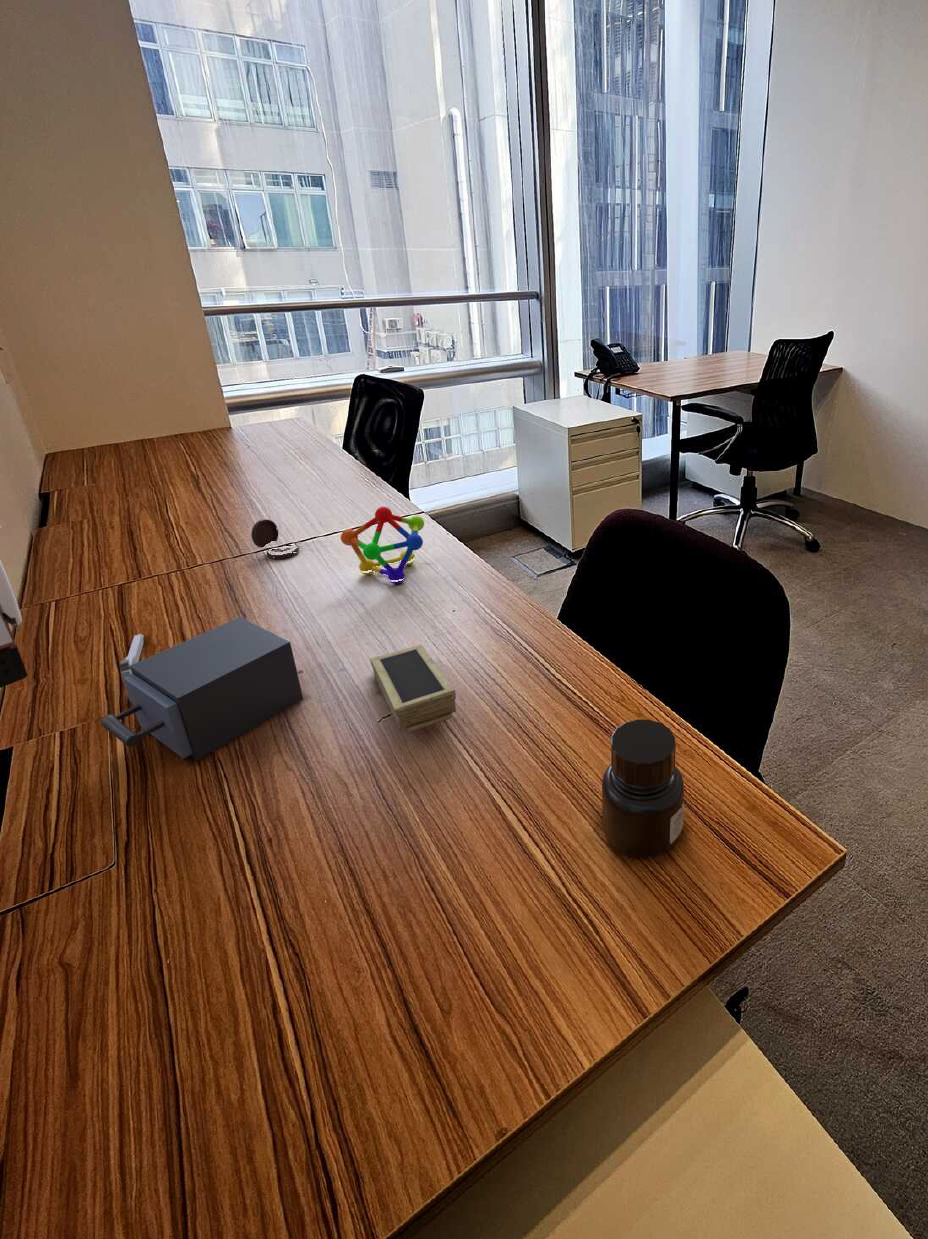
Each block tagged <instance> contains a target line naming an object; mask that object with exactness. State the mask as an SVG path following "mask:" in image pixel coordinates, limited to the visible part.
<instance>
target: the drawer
mask: <svg viewBox="0 0 928 1239" xmlns="http://www.w3.org/2000/svg"><path fill="white" fill-rule="evenodd" d="M123 679H124V682H125V685H126V688H127V690H128V693H129V696H130V699H131V702H132V703H131V702H130V703H131V704H132V707H130V708H127V709H126V710H123V711H121V712H120V713H119V712H118V713H117V714H116V715H113V714H107V715H105V716H102V718H101V720H100V726H101V727H103V728H104V729H105V730H107V732H109V733H110V734H111V735H113V736H114V737H115V738H116V739H117V740H119V741H120V742H121V743H123V744H124V745H125V746H126V747H128V748H135V747H136V746H137V745H138V744H140V742H141V739H143V738H144V737H147V736H149V735H151V736H152V737H154V738H155V739H157V741H159V742H160V743H161V744H163V745H164V746H165V747H167V748H168V749H170V750H171V751H172V752H174V753H175V754H176V755H177V756H179V757H180V758H182V759H186V758H188V757H189V756H191V754H193V752H192V748H191V745H190V742H189V739H188V736H187V733H186V730H185V727H184V724H183V720H182V717H181V714H180V711H179V708H178V705H177V703H176V702H175V701H173V700H172V699H171V698H170V697H169V696H168V695H166V694H165V693H163V692H162V691H160V690H159V689H157V688H156V687H154V686H153V685H152V686H153V687H152V686H151V685H150V684H148V683H147V682H145V681H144V680H142V679H141V678H139V677H138V676H136V675H135V674H131V675H128V676H126V677H124V678H123ZM123 679H122V680H123ZM124 682H123V683H124ZM134 714H135V716H136V719H137V721H138V725H139V727H141V729H143V730H140V731H138V732H137V733H136V732H135V731H134V730H132V729H131V728H130V727H128V726H127V725H126V724H125V723H124V722H122V721H121V720H123V719H125V718H127V717H129V716H131V715H134Z"/></svg>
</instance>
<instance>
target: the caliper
mask: <svg viewBox="0 0 928 1239" xmlns="http://www.w3.org/2000/svg"><path fill="white" fill-rule="evenodd" d="M144 637H145V636H144V635H143V634H142V633H139V634H136V635H134V636H133V638H132V641H131V645H130V648H129V651H128V654H127V656H126V657H125V659H123V660H120V663H118V665H119V668H120V676H121V680H122V682H123V686H124V688H125V692H126V694H127V697H128V700H129V703H130V704H132V702H131V699H130V696H129V693H128V690H127V688H126V685H125V682H124V679H123V678H124V677H126V676H128V675H131V674H132V672H131V669H130V665H133V664H135V663H137V662H139V661H140V658H141V654H142V650H143V647H144V644H145V641H144Z"/></svg>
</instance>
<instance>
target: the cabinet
mask: <svg viewBox="0 0 928 1239" xmlns="http://www.w3.org/2000/svg"><path fill="white" fill-rule="evenodd" d="M296 665H297V664H296V660H295V656H294V653H293V648H292V643H291V641H289V640H288V639H285V638H283V637H282V636H279V635H277V634H276V633H273V632H272V631H270V630H268V629H265V628H263V627H261V626H260V625H257V624H255V623H254V622H251V621H249V620H247V619H245V618H243V617H242V616H239V617H236V618H235V619H231V620H229V621H227V622H226V623H223V624H221V625H218V626H216V627H213V628H212V629H209V630H207V631H205V632H203V633H200V634H198V635H195V636H193V637H191V638H189V639H187V640H184V641H183V642H179V643H178V644H176V645H173V646H171V647H168V648H167V649H164V650H161V651H160V652H157V653H155V654H153V655H150V656H148V657H146V658H143V659H141V660H139V662H137V663H135V664H133V665H130V669H131V672H132V674H135V675H136V676H138V677H139V678H141V679H142V680H144V681H145V682H147V683H148V684H150V685H151V686H152V685H153V686H154V687H156V688H157V689H159V690H160V691H162V692H163V693H165V694H166V695H168V696H169V697H170V698H172V699H173V700H175V701H176V702H177V705H178V708H179V711H180V714H181V717H182V720H183V724H184V727H185V730H186V733H187V736H188V739H189V742H190V745H191V748H192V752H193V754H191V755H190V756H191V757H192V758H194V759H195V760H196V761H199V760H201V759H203V758H204V757H206V756H208V755H210V754H211V753H213V752H215V751H216V750H218V749H220V748H221V747H223V746H225V745H227V744H229V743H230V742H232V741H233V740H235V739H237V738H239V737H241V736H242V735H244V734H245V733H248V732H249V731H251V730H253V729H254V728H256V727H258V726H259V725H261V724H262V723H264V722H266V721H268V720H269V719H271V718H273V717H274V716H276V715H278V714H280V713H282V712H283V711H285V710H286V709H288V708H290V707H291V706H293V705H295V704H297V703H299V702H300V701H302V700H303V699H304V696H303V691H302V687H301V682H300V678H299V675H298V670H297V666H296ZM153 686H152V687H153Z"/></svg>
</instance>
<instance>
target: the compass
mask: <svg viewBox="0 0 928 1239" xmlns="http://www.w3.org/2000/svg"><path fill="white" fill-rule="evenodd" d="M278 539H279V529H278V526H277V524H276V523H275V522H274V521H273V520H271V519H259V520H258V521H256V522H255V523H254V525H253V526H252V528H251V540H252V542H253V544H254V545H255V546H256V547H257V548H260V547H261V548H260V549H263V548H262V547H264V546H265V545H266V544H268V543H270V542H271V541H276V542H278ZM291 543H292V544H293V542H291ZM300 544H302V542H301V541H299V542H298V543H297V542H296V543H295V545H296V546H298V545H300ZM283 546H292V545H283ZM290 549H291V548H286V549H284V550H281V549H279V548H278V549H272V550H271V551H274V552H283V551H287V550H290ZM268 551H269V549H268V550H267V551H266V557H268V558H269V557H270V558H269V559H272V560H282V559H287V558H290V557H293V556H296V554H297V553H298V552H300V547H299V546H298V548H296V549H295V550H294V551H292V553H287V554H283V555H271V554H269V553H268ZM293 552H297V553H293ZM273 557H274V558H273Z"/></svg>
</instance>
